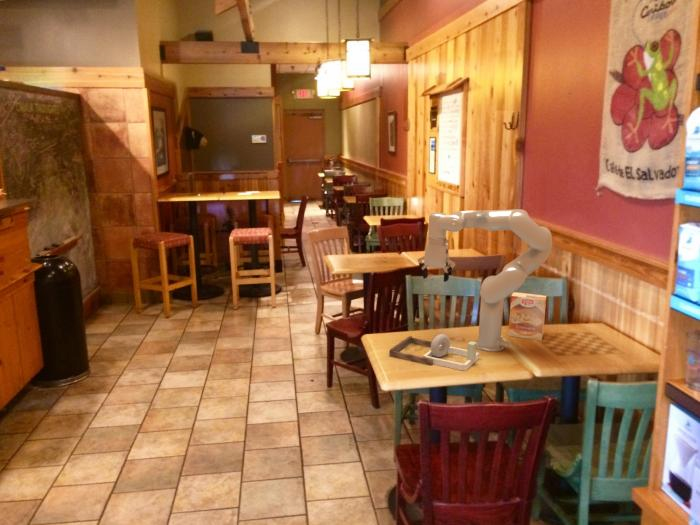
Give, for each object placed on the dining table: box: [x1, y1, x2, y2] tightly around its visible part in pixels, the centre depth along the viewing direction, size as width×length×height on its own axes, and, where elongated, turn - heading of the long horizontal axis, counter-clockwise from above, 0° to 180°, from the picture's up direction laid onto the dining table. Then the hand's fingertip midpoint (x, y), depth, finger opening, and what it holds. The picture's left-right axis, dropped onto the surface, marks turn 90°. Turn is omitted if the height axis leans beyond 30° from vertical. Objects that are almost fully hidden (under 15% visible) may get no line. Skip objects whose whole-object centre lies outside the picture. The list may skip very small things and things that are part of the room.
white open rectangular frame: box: [422, 340, 480, 372], centre depth 242 cm, size 19×16×9 cm
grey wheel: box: [430, 333, 451, 358], centre depth 245 cm, size 10×4×10 cm, turn 127°
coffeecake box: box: [507, 291, 547, 341], centre depth 271 cm, size 15×7×20 cm, turn 68°
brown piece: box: [388, 335, 442, 366], centre depth 250 cm, size 19×20×3 cm
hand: (435, 279), depth 259 cm, fingers open, 9 cm apart
